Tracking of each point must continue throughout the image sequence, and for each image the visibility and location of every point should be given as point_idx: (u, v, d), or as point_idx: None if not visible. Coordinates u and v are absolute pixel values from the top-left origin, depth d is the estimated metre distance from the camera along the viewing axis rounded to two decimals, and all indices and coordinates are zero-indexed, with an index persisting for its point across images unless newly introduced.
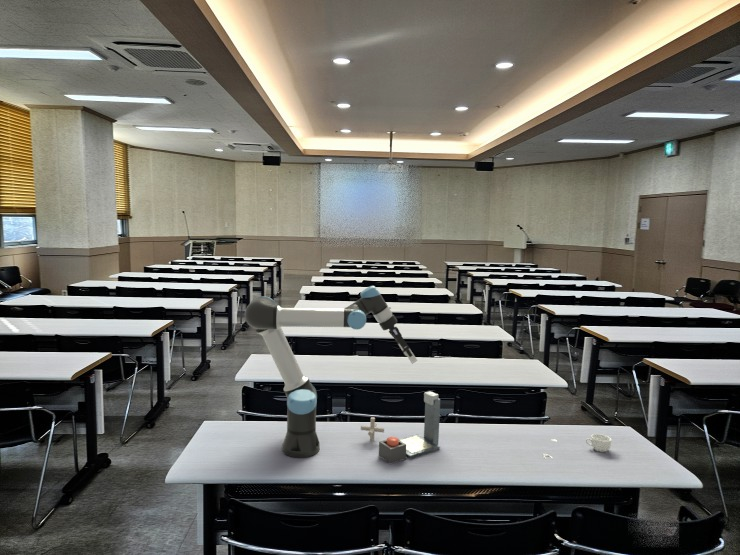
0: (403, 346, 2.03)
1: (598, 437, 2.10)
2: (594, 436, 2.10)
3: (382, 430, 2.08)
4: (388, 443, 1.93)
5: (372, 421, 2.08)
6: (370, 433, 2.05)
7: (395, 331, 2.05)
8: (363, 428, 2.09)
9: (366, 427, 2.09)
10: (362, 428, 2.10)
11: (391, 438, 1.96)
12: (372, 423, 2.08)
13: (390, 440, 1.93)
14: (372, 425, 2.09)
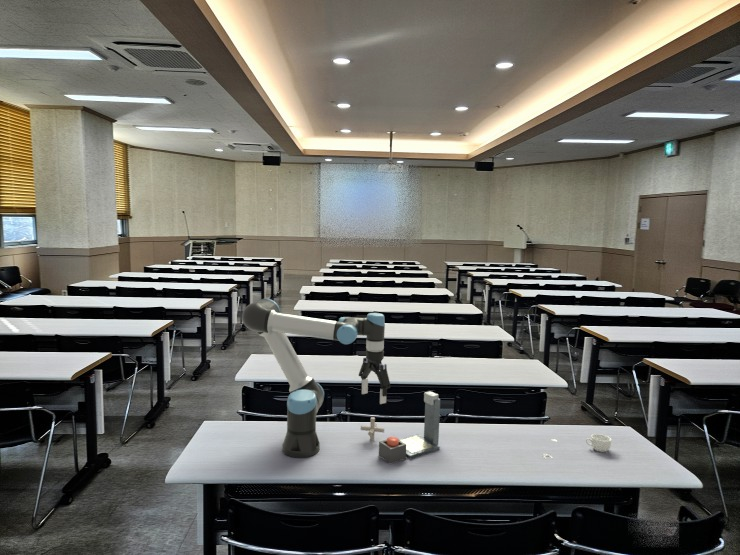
0: (386, 383, 1.99)
1: (598, 437, 2.10)
2: (594, 436, 2.10)
3: (382, 430, 2.08)
4: (388, 443, 1.93)
5: (372, 421, 2.08)
6: (370, 433, 2.05)
7: (384, 366, 2.01)
8: (363, 428, 2.09)
9: (366, 427, 2.09)
10: (362, 428, 2.10)
11: (391, 438, 1.96)
12: (372, 423, 2.08)
13: (390, 440, 1.93)
14: (372, 425, 2.09)
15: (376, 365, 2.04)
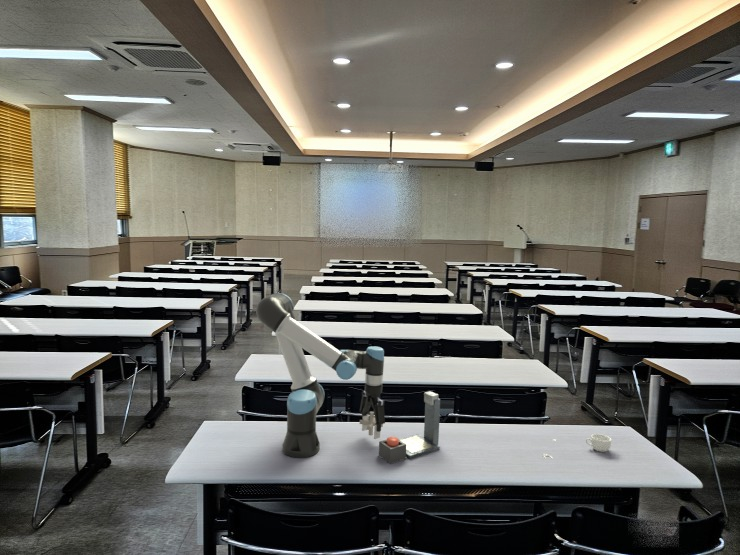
0: (381, 419, 2.02)
1: (598, 437, 2.10)
2: (594, 436, 2.10)
3: (381, 424, 2.08)
4: (388, 443, 1.93)
5: (371, 415, 2.08)
6: (369, 427, 2.04)
7: (382, 402, 2.03)
8: (362, 422, 2.09)
9: (365, 421, 2.09)
10: (361, 422, 2.09)
11: (391, 438, 1.96)
12: (371, 417, 2.08)
13: (390, 440, 1.93)
14: (371, 419, 2.08)
15: (374, 399, 2.05)
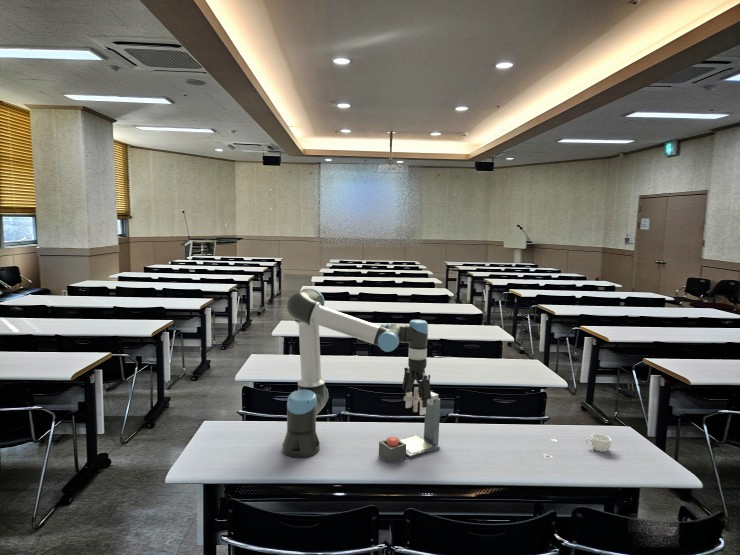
0: (427, 395, 1.95)
1: (598, 437, 2.10)
2: (594, 436, 2.10)
3: None
4: (388, 443, 1.93)
5: (416, 391, 2.01)
6: (414, 403, 1.97)
7: (428, 377, 1.95)
8: (406, 398, 2.02)
9: (409, 397, 2.02)
10: (405, 398, 2.02)
11: (391, 438, 1.96)
12: (416, 393, 2.01)
13: (390, 440, 1.93)
14: (416, 395, 2.01)
15: (419, 373, 1.98)
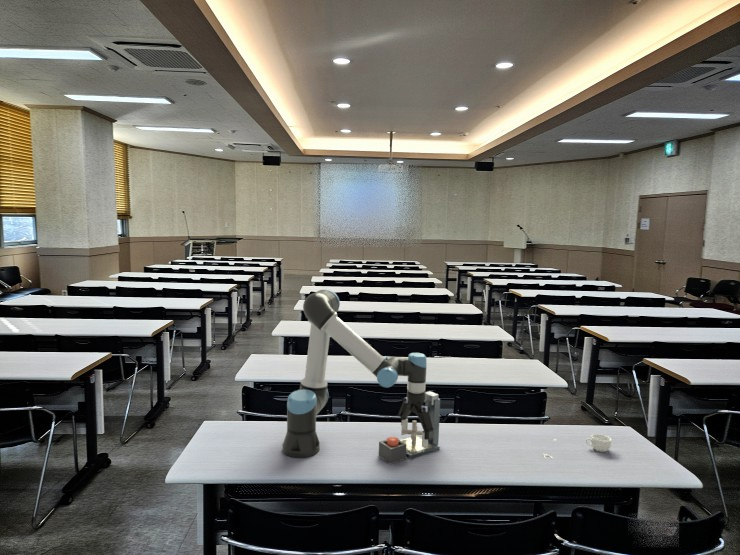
0: (429, 426, 1.95)
1: (598, 437, 2.10)
2: (594, 436, 2.10)
3: None
4: (388, 443, 1.93)
5: (414, 424, 2.02)
6: (413, 437, 1.98)
7: (426, 408, 1.97)
8: (404, 431, 2.03)
9: (408, 430, 2.03)
10: (403, 431, 2.03)
11: (391, 438, 1.96)
12: (414, 426, 2.02)
13: (390, 440, 1.93)
14: (414, 428, 2.02)
15: (418, 407, 1.99)
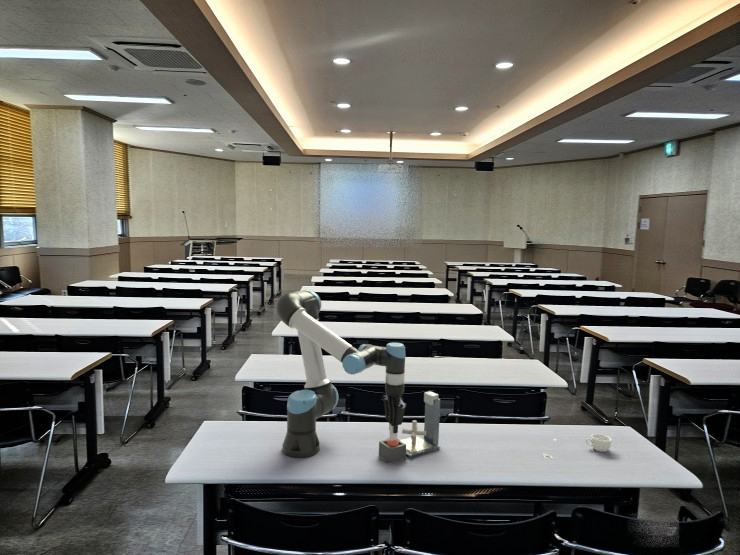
0: (398, 421, 1.90)
1: (598, 437, 2.10)
2: (594, 436, 2.10)
3: (424, 433, 2.02)
4: (388, 444, 1.93)
5: (414, 424, 2.02)
6: (413, 437, 1.98)
7: (404, 406, 1.88)
8: (405, 431, 2.03)
9: (408, 430, 2.03)
10: (403, 431, 2.03)
11: None
12: (414, 426, 2.02)
13: (390, 441, 1.93)
14: (414, 428, 2.02)
15: (396, 399, 1.89)
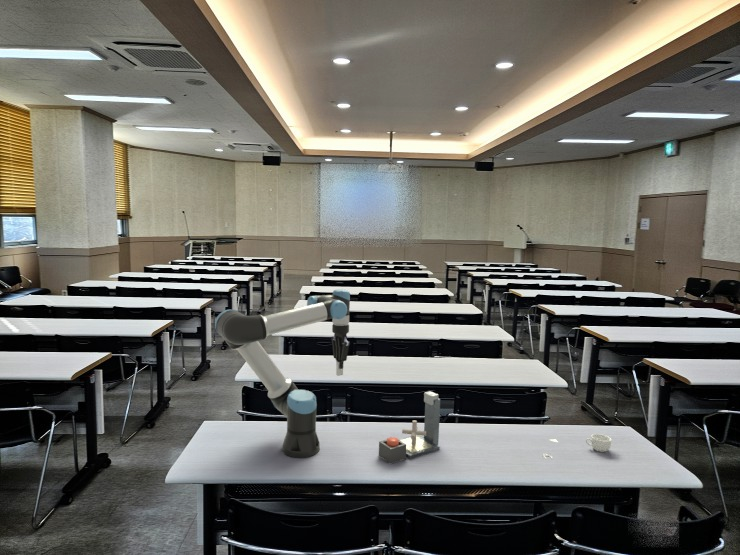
0: (343, 357, 2.17)
1: (598, 437, 2.10)
2: (594, 436, 2.10)
3: (424, 433, 2.02)
4: (388, 443, 1.93)
5: (414, 424, 2.02)
6: (413, 437, 1.98)
7: (347, 343, 2.15)
8: (405, 431, 2.03)
9: (408, 430, 2.03)
10: (403, 431, 2.03)
11: (391, 438, 1.96)
12: (414, 426, 2.02)
13: (390, 440, 1.93)
14: (414, 428, 2.02)
15: (341, 338, 2.16)
